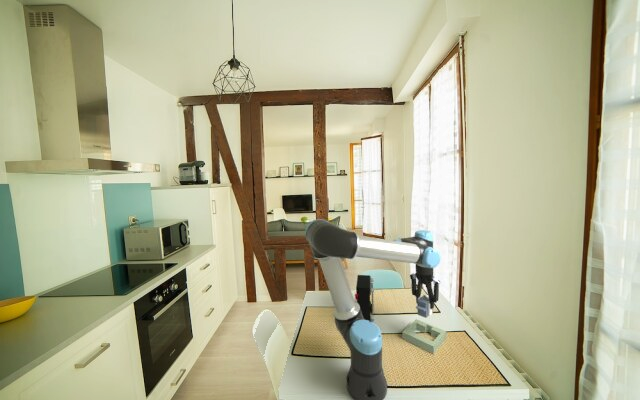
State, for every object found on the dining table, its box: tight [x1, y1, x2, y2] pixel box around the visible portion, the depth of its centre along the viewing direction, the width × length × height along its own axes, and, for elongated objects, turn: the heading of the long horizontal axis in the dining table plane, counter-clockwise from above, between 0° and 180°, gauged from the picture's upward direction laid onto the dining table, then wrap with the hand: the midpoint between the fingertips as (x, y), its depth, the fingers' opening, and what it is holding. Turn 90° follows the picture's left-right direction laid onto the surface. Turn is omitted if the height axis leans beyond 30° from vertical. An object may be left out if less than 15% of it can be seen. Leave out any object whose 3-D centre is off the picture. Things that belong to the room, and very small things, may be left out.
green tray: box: [401, 318, 447, 355], centre depth 119 cm, size 15×15×4 cm
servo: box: [415, 294, 434, 319], centre depth 114 cm, size 10×4×8 cm, turn 131°
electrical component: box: [354, 274, 375, 322], centre depth 141 cm, size 18×10×20 cm, turn 168°
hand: (425, 312), depth 114 cm, fingers closed on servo, 4 cm apart
